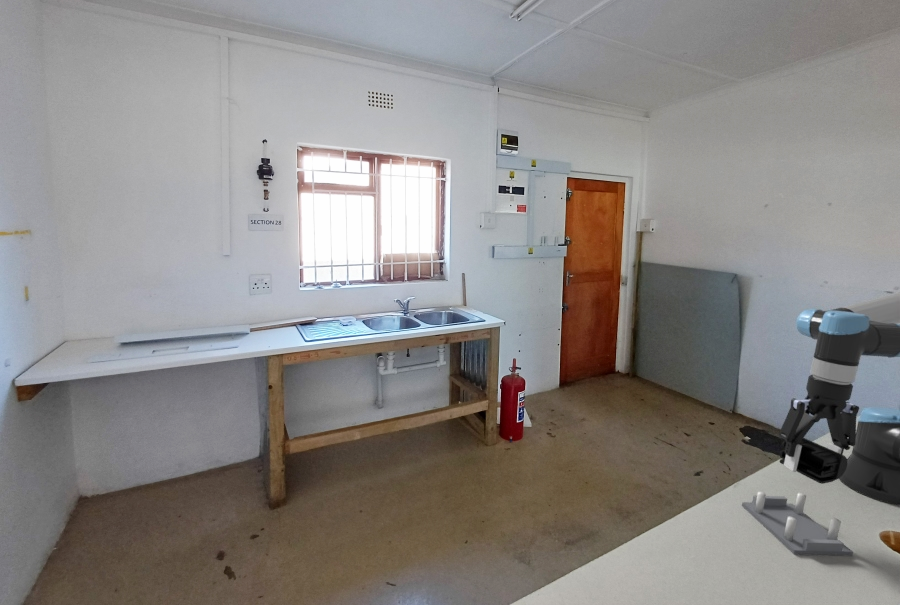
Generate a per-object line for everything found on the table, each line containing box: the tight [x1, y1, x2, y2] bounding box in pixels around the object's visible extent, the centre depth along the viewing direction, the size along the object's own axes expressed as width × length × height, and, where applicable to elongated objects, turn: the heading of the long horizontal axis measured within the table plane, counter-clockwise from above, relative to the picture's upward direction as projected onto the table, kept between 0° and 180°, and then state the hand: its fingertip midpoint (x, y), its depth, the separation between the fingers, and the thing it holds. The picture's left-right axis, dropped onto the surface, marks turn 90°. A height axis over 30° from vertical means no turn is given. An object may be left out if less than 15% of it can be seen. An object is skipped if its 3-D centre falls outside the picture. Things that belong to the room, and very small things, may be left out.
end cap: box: [779, 437, 848, 485], centre depth 96 cm, size 10×7×7 cm
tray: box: [741, 491, 854, 557], centre depth 97 cm, size 13×16×6 cm
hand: (809, 469), depth 96 cm, fingers closed on end cap, 9 cm apart
